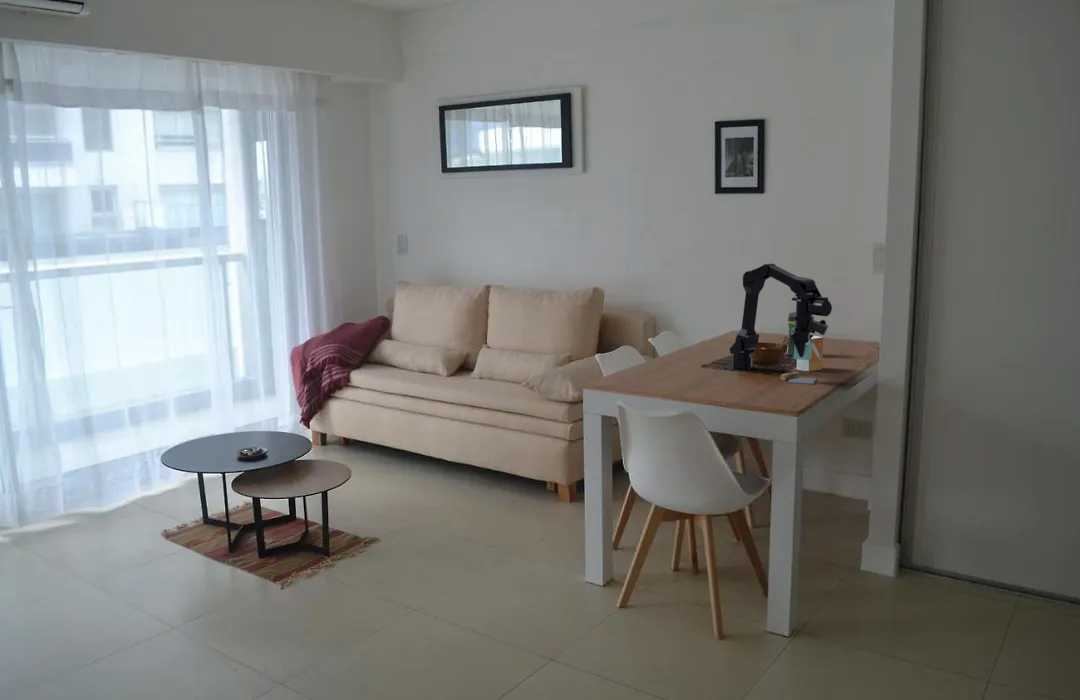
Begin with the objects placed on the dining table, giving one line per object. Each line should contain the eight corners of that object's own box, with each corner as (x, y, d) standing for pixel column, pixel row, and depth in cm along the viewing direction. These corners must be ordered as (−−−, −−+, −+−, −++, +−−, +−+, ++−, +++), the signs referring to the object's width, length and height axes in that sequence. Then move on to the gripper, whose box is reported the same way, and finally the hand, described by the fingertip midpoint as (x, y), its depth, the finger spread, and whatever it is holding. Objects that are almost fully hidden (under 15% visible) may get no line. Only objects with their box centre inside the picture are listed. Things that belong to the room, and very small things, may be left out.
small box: (808, 372, 349) (809, 338, 347) (796, 369, 354) (797, 337, 352) (822, 369, 353) (823, 336, 351) (809, 367, 358) (810, 334, 356)
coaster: (787, 382, 330) (787, 381, 330) (791, 378, 338) (791, 377, 338) (812, 384, 326) (812, 383, 326) (816, 379, 334) (816, 378, 334)
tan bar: (784, 380, 334) (784, 375, 334) (780, 379, 336) (780, 374, 335) (798, 377, 338) (799, 372, 338) (794, 377, 340) (794, 371, 340)
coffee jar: (812, 354, 385) (813, 311, 382) (807, 357, 378) (809, 314, 375) (789, 353, 390) (791, 310, 387) (784, 356, 383) (786, 313, 380)
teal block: (793, 359, 330) (794, 344, 329) (796, 356, 334) (796, 341, 333) (809, 359, 327) (809, 345, 326) (811, 357, 332) (812, 342, 331)
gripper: (823, 317, 316) (821, 361, 319) (830, 311, 333) (828, 352, 336) (790, 316, 321) (789, 359, 324) (799, 310, 338) (798, 350, 340)
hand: (802, 355), depth 331 cm, fingers closed on teal block, 5 cm apart
